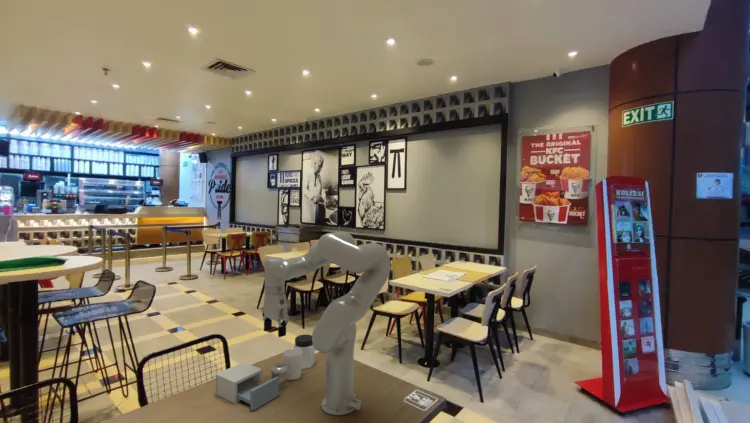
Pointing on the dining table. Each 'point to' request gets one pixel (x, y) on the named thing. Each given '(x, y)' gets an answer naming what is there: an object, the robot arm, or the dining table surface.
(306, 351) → the jar
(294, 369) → the white cup
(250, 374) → the housing
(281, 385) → the beige block
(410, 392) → the dining table surface
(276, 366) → the disc
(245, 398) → the blue-grey open box
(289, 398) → the dining table surface
